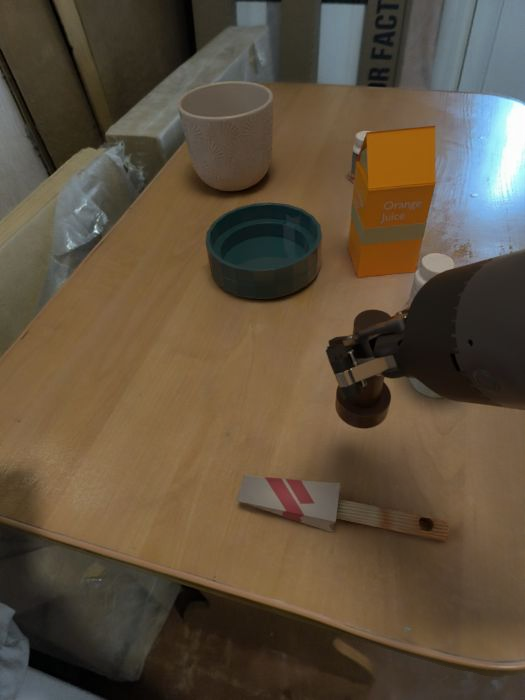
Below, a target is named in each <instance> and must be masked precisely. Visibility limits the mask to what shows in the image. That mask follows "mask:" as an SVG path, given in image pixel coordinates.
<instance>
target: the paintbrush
mask: <svg viewBox="0 0 525 700" xmlns="http://www.w3.org/2000/svg"><path fill="white" fill-rule="evenodd" d="M340 489H341V483H337V482H326V481H325V482H324V481H317V480H316V481H315V480H314V481H313V480H302V479H291V478H280V477H269V476H257V475H247V474H243V477H242V480H241V484H240V487H239V490H238V495H237V499H236V502H239V503H241V504H245V505H248V506H250V507H254V508H256V509H260V510H264V511H266V512H269V513H272V514H276V515H278V516H281V517H284V518H288V519H290V520H293V521H297V522H298V523H303V524H305V525H308V526H311V527H314V528H317V529H320V530H323V531H326V532H329V533H334V529H335V523H336V522H337V520H341V521H342V520H343V521H348V522H351V523H356V524H360V525H364V526H365V525H366V526H370V527H373V528H374V527H375V528H380V529H384V530H390V531H395V532H400V533H403V534H409V535H413V536H417V537H418V536H419V537H421V538H422V537H423V538H428V539H432V540H436V541H440V542H441V541H442V542H446V541H447V540H448V537H449V536H448V535H449V524H448V521H447V520H445V519H440V518H435V517H432V516H431V517H430V516H427V515H426V516H425V515H420V514H415V513H410V512H405V511H400V510H397V509H390V508H387V507H380V506H375V505H371V504H366V503H361V502H356V501H351V500H345V499H341V498H339V497H340V491H341V490H340ZM420 523H424V524H426V526H427V527H428V531H427V530H426V531H425V530H423V529H422V527H421V525H420Z"/></svg>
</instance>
